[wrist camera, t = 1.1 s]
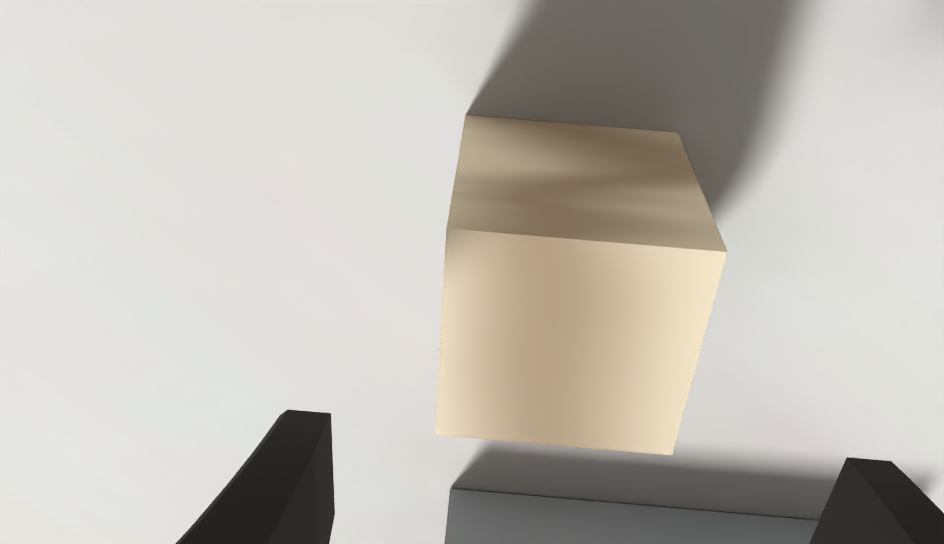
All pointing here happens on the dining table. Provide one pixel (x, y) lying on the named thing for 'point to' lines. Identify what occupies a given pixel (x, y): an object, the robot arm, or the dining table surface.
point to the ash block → (573, 286)
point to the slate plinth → (606, 523)
